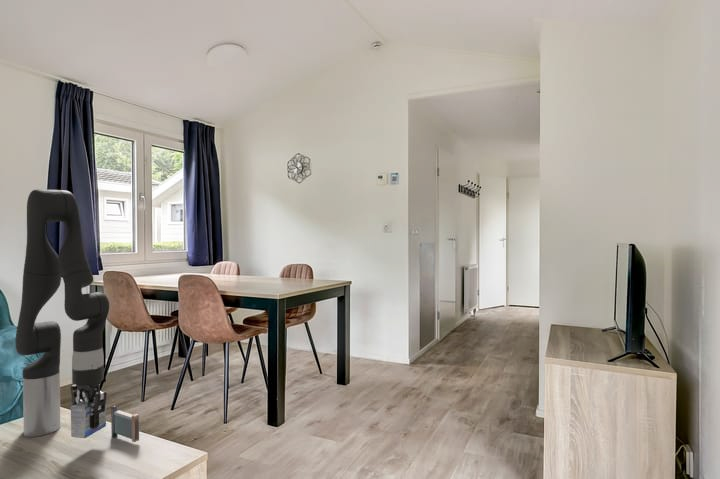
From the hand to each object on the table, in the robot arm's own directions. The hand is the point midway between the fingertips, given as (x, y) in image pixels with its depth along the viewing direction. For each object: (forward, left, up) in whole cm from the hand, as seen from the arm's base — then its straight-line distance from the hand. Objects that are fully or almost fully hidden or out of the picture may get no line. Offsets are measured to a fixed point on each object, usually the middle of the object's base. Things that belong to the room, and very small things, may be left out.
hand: (88, 424), depth 123 cm
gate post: (-2, +8, -7) cm, 11 cm away
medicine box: (0, 0, -2) cm, 2 cm away
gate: (+5, +8, -6) cm, 11 cm away
